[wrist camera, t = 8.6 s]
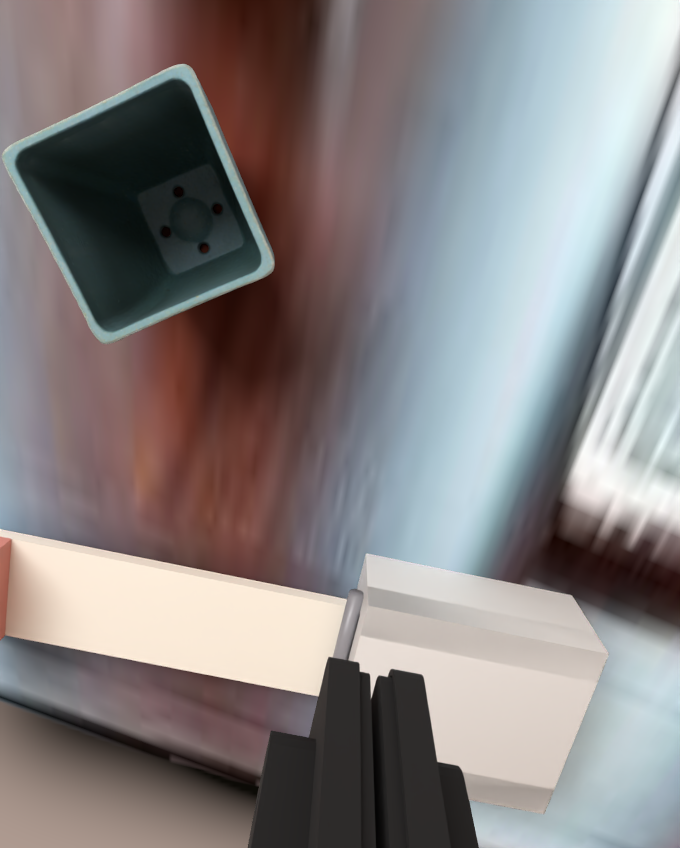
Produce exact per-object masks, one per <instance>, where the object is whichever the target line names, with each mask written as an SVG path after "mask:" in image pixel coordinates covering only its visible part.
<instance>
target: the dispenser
mask: <svg viewBox="0 0 680 848" xmlns="http://www.w3.org/2000/svg"><path fill="white" fill-rule="evenodd" d="M608 655H609V653H608V652H607V650H606V648H605V647H604V645H603V644H602V642H601V641H600V639H599V637H598V636H597V634H596V633H595V631H594V630H593V628H592V626H591V625H590V623H589V622H588V620H587V618H586V617H585V615H584V614H583V612H582V611H581V609H580V607H579V606H578V604H577V603H576V601H575V599H574V598H573V596H572V595H567V594H562V593H557V592H552V591H548V590H543V589H538V588H533V587H528V586H523V585H518V584H514V583H509V582H504V581H499V580H494V579H489V578H484V577H479V576H475V575H470V574H465V573H460V572H455V571H450V570H445V569H441V568H436V567H431V566H426V565H421V564H416V563H411V562H406V561H402V560H397V559H392V558H387V557H382V556H377V555H372V554H367V553H366V555H365V559H364V563H363V567H362V571H361V575H360V579H359V583H358V587H357V589H351V590H350V591H349V594H348V598H347V602H346V606H345V610H344V614H343V618H342V622H341V626H340V630H339V634H338V638H337V641H336V645H335V649H334V653H333V658H338V659H344V660H349V661H354V662H359V664H360V672H365V673H369V674H370V683H371V698H372V694H373V690H374V687H375V683H376V679H377V677H378V676H379V675H380V676H386V677H388V674H389V672H390V670H391V669H396V670H401V671H406V672H412V673H417V674H422V675H423V677H424V681H425V688H426V694H427V700H428V706H429V713H430V719H431V725H432V732H433V738H434V744H435V750H436V757H437V762H441V763H446V764H452V765H457V766H459V767H460V768H461V770H462V772H463V776H464V779H465V784H466V789H467V793H468V798H469V800H472V801H477V802H483V803H488V804H493V805H498V806H504V807H509V808H514V809H519V810H525V811H530V812H535V813H540V814H545V811H546V809H547V806H548V804H549V801H550V799H551V796H552V794H553V791H554V789H555V786H556V784H557V782H558V779H559V777H560V774H561V772H562V769H563V767H564V764H565V762H566V759H567V757H568V754H569V752H570V749H571V747H572V744H573V742H574V740H575V737H576V735H577V732H578V730H579V727H580V725H581V722H582V720H583V717H584V715H585V712H586V710H587V707H588V705H589V702H590V700H591V698H592V695H593V693H594V690H595V688H596V685H597V683H598V680H599V678H600V675H601V673H602V670H603V668H604V665H605V663H606V660H607V658H608Z"/></svg>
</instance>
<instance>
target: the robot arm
mask: <svg viewBox="0 0 680 848" xmlns="http://www.w3.org/2000/svg"><path fill="white" fill-rule="evenodd" d="M248 848H479V847H478V842H477V837H476V832H475V827H474V823H473V818H472V813H471V808H470V803H469V798H468V793H467V789H466V784H465V779H464V776H463V772H462V770H461V768H460V767H459V766H457V765H452V764H446V763H441V762H437V757H436V750H435V744H434V738H433V732H432V725H431V719H430V713H429V706H428V700H427V694H426V688H425V681H424V677H423V675H422V674H417V673H412V672H406V671H401V670H396V669H391V670H390V672H389V674H388V677H386V676H380V675H379V676H378V677H377V679H376V683H375V687H374V690H373V694H372V698H371V683H370V674H369V673H365V672H360V664H359V662H354V661H349V660H344V659H338V658H333V657H328V660H327V663H326V667H325V671H324V675H323V680H322V684H321V688H320V693H319V697H318V701H317V705H316V710H315V714H314V718H313V722H312V727H311V731H310V735H309V738H307V737H302V736H297V735H291V734H286V733H281V732H275V731H271V733H270V737H269V742H268V747H267V751H266V756H265V761H264V766H263V770H262V775H261V780H260V785H259V790H258V795H257V801H256V806H255V811H254V817H253V822H252V828H251V833H250V839H249V844H248Z"/></svg>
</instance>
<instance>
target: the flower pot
mask: <svg viewBox="0 0 680 848" xmlns="http://www.w3.org/2000/svg"><path fill="white" fill-rule="evenodd" d="M2 160H3V163H4V165H5V167H6V169H7V171H8V174H9V176H10V177H11V179H12V181H13V183H14V184H15V186H16V188H17V191H18V192H19V194H20V195H21V197H22V199H23V201H24V203H25V205H26V207H27V209H28V211H29V212H30V213H31V215H32V218H33V219H34V221H35V222H36V224H37V226H38V229H39V230H40V232H41V234H42V236H43V238H44V239H45V241H46V244H47V245H48V247H49V249H50V251H51V253H52V255H53V257H54V259H55V261H56V263H57V264H58V266H59V268H60V270H61V272H62V274H63V276H64V278H65V280H66V281H67V284H68V285H69V287H70V289H71V291H72V293H73V295H74V297H75V299H76V301H77V303H78V305H79V307H80V309H81V311H82V313H83V315H84V317H85V319H86V320H87V323H88V326H89V328H90V330H91V331H92V333H93V334H94V336H95V337H96V338H97V339H98V340H99V341H100V342H101V343H103V344H110V343H114V342H116V341H119V340H121V339H123V338H125V337H127V336H129V335H131V334H134V333H136V332H138V331H140V330H143V329H145V328H147V327H149V326H152V325H154V324H156V323H158V322H160V321H163V320H165V319H167V318H170V317H172V316H174V315H176V314H178V313H181V312H184V311H186V310H188V309H190V308H193V307H195V306H197V305H200V304H202V303H204V302H206V301H209V300H211V299H213V298H216V297H218V296H221V295H223V294H225V293H228V292H230V291H233V290H235V289H237V288H240V287H242V286H244V285H247V284H250V283H253V282H255V281H258V280H260V279H262V278H264V277H266V276H268V275H270V274H271V273H272V272H273V270H274V264H275V260H274V253H273V251H272V248H271V246H270V243H269V241H268V239H267V237H266V234H265V232H264V230H263V227H262V225H261V223H260V220H259V218H258V216H257V213H256V211H255V209H254V206H253V204H252V202H251V199H250V197H249V194H248V192H247V190H246V187H245V185H244V183H243V180H242V178H241V176H240V173H239V171H238V168H237V166H236V164H235V161H234V159H233V156H232V154H231V152H230V149H229V147H228V145H227V142H226V140H225V137H224V135H223V133H222V130H221V128H220V125H219V123H218V120H217V118H216V116H215V113H214V111H213V108H212V106H211V104H210V102H209V100H208V98H207V96H206V94H205V92H204V90H203V88H202V86H201V84H200V82H199V80H198V78H197V76H196V74H195V72H194V71H193V69H192V68H191V67H190V66H188V65H186V64H179V65H175V66H172V67H169V68H168V69H165V70H163V71H162V72H159V73H158V74H156V75H154V76H152V77H150V78H148V79H145V80H144V81H142V82H140V83H138V84H136V85H134V86H132V87H130V88H129V89H126V90H124V91H122V92H120V93H119V94H117V95H114V96H113V97H111V98H108V99H106V100H104V101H102V102H100V103H98V104H96V105H94V106H92V107H90V108H88V109H86V110H84V111H82V112H80V113H77V114H75V115H72V116H71V117H69V118H67V119H64V120H62V121H60V122H58V123H55V124H53V125H52V126H50V127H48V128H45V129H43V130H41V131H39V132H37V133H35V134H33V135H30V136H28V137H26V138H24V139H22V140H19V141H17V142H15V143H13V144H12V145H10V146H9V147H8V148H6V149H5V151H4V152H3V154H2ZM176 187H181V188H182V189H183V195H182V196H181V197H177V196H176V195H175V194H174V189H175V188H176ZM215 204H219V205H220V206H221V207H222V211H221V213H219V214H216V213H214V211H213V206H214V205H215ZM164 227H168V228H169V229H170V231H171V234H170V236H168V237H165V236H163V234H162V229H163V228H164ZM202 244H207V245H208V247H209V250H208V252H207V253H202V252H201V251H200V246H201V245H202Z"/></svg>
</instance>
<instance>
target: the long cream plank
mask: <svg viewBox="0 0 680 848" xmlns="http://www.w3.org/2000/svg"><path fill="white" fill-rule="evenodd" d="M346 602H347V599H343V598H338V597H333V596H329V595H324V594H319V593H314V592H309V591H304V590H299V589H294V588H289V587H284V586H279V585H274V584H269V583H264V582H259V581H254V580H249V579H244V578H239V577H234V576H230V575H225V574H220V573H215V572H210V571H205V570H200V569H195V568H190V567H185V566H180V565H175V564H170V563H165V562H160V561H155V560H150V559H145V558H140V557H135V556H130V555H126V554H121V553H116V552H111V551H106V550H101V549H96V548H91V547H86V546H81V545H76V544H71V543H66V542H61V541H56V540H51V539H46V538H41V537H36V536H31V535H27V534H22V533H17V532H12V531H7V530H2V529H0V640H1V639H2V638H3V637H4V636H5V635H6V636H11V637H16V638H21V639H27V640H32V641H37V642H42V643H47V644H52V645H57V646H62V647H68V648H73V649H78V650H83V651H88V652H93V653H98V654H104V655H109V656H114V657H119V658H124V659H129V660H134V661H139V662H145V663H150V664H155V665H160V666H165V667H170V668H175V669H180V670H186V671H191V672H196V673H201V674H206V675H211V676H216V677H221V678H227V679H232V680H237V681H242V682H247V683H252V684H257V685H263V686H268V687H273V688H278V689H283V690H288V691H293V692H298V693H304V694H309V695H314V696H319V693H320V688H321V684H322V680H323V675H324V671H325V667H326V663H327V660H328V657H333V653H334V649H335V645H336V641H337V638H338V634H339V630H340V626H341V622H342V618H343V614H344V610H345V606H346Z"/></svg>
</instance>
